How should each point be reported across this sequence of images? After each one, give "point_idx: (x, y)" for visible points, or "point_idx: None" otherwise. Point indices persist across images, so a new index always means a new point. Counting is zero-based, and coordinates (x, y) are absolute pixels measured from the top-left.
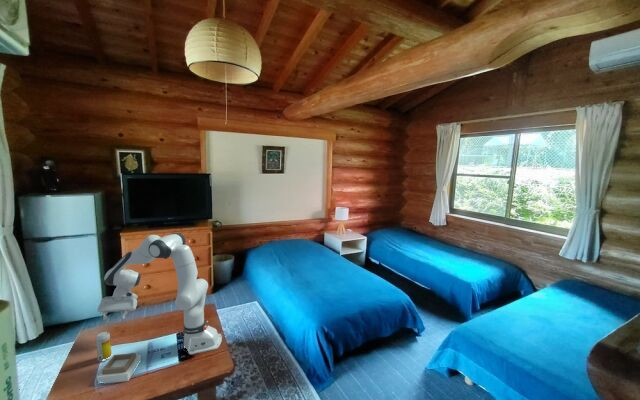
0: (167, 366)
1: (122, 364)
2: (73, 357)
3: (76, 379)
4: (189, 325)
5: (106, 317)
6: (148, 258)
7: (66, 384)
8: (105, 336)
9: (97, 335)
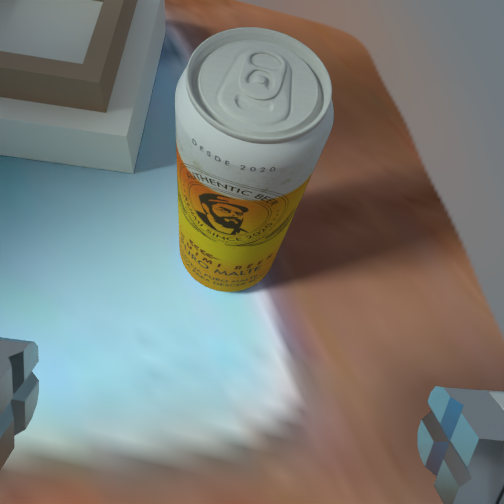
0: None
1: (22, 39)
2: (493, 332)
3: None
4: None
5: (454, 429)
6: None
7: (346, 79)
8: (202, 47)
9: (325, 88)
